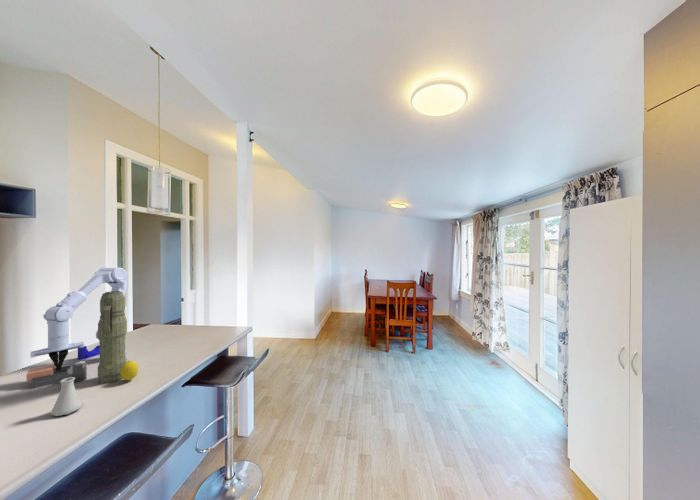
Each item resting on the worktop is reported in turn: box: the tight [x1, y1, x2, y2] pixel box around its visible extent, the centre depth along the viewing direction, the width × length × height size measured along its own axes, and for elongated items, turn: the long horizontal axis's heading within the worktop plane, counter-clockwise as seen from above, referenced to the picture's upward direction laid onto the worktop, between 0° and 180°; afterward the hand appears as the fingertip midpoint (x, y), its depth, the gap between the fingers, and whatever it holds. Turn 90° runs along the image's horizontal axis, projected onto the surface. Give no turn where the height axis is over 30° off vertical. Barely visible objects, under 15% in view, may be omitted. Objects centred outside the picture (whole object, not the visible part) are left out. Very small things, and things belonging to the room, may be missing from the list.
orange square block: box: [26, 363, 56, 381], centre depth 106 cm, size 6×6×2 cm
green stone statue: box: [97, 290, 128, 385], centre depth 109 cm, size 9×12×35 cm
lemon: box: [120, 360, 139, 382], centre depth 107 cm, size 6×6×8 cm
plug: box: [71, 360, 88, 384], centre depth 108 cm, size 4×4×7 cm
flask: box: [49, 377, 85, 417], centre depth 88 cm, size 7×7×10 cm
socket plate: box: [30, 364, 72, 389], centre depth 109 cm, size 12×10×3 cm
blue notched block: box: [77, 344, 100, 361], centre depth 134 cm, size 12×4×6 cm, turn 170°
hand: (58, 369), depth 109 cm, fingers closed
